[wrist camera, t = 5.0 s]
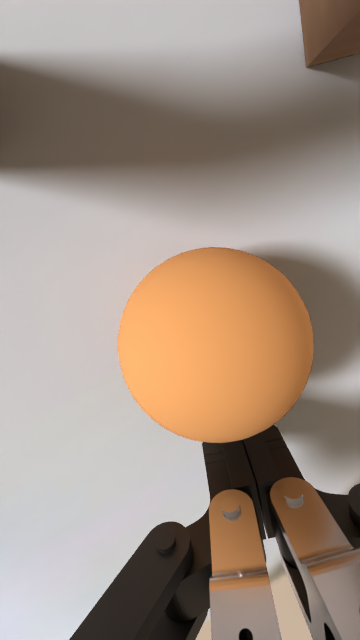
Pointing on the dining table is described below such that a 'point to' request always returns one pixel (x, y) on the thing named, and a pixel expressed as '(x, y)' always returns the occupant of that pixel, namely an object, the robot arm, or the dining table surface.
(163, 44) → the dining table surface
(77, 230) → the dining table surface
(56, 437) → the dining table surface
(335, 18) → the bridge
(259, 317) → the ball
